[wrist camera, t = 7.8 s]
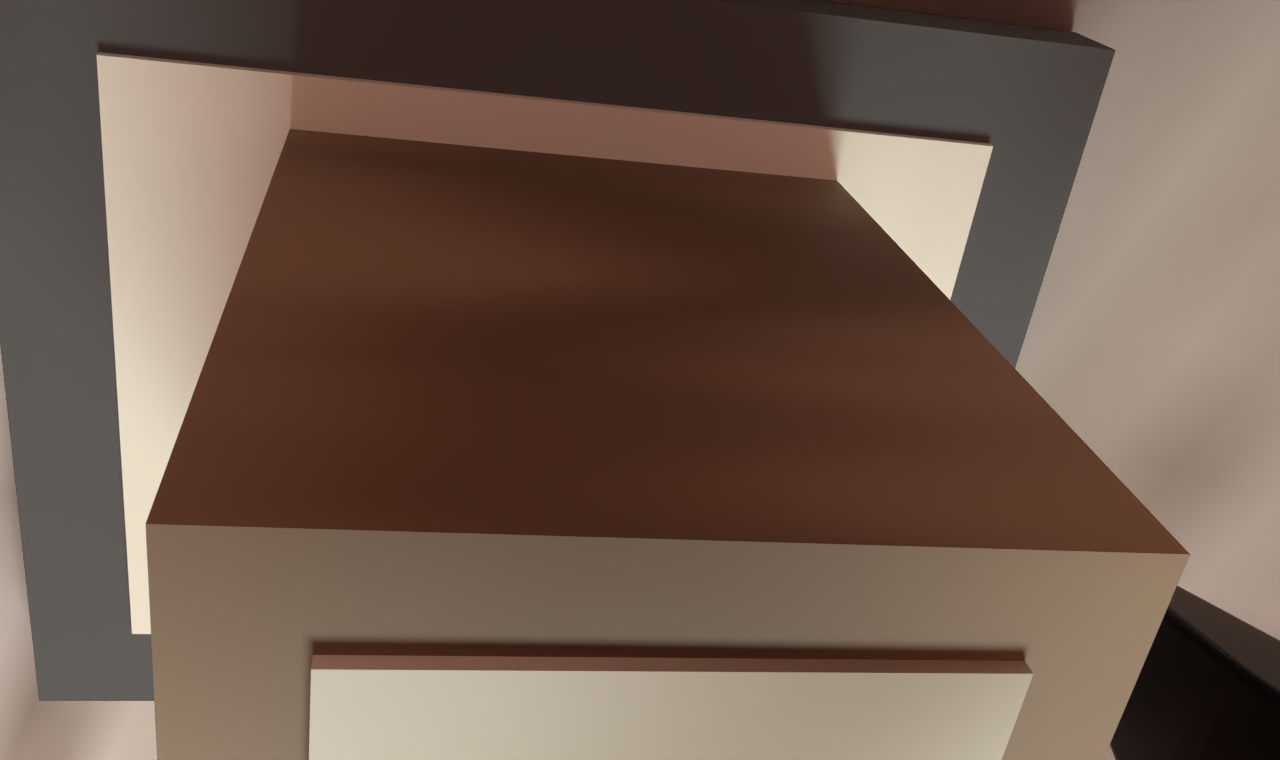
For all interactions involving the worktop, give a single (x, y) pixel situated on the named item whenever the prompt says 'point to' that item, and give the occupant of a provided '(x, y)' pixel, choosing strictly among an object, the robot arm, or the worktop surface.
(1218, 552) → the worktop surface
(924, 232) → the pad
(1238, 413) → the worktop surface
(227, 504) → the walnut block
